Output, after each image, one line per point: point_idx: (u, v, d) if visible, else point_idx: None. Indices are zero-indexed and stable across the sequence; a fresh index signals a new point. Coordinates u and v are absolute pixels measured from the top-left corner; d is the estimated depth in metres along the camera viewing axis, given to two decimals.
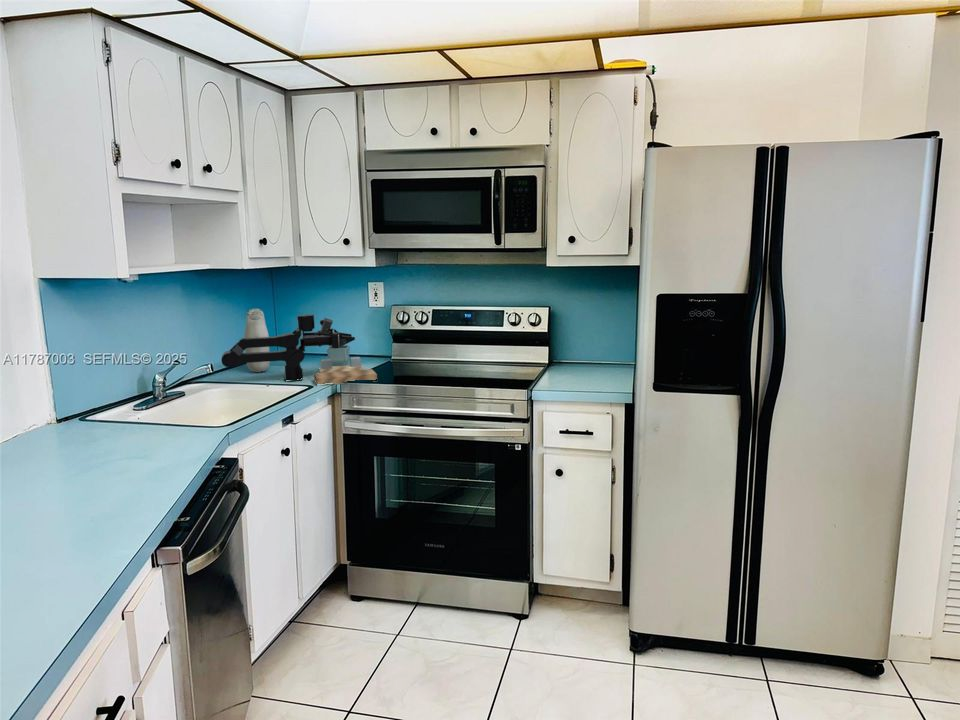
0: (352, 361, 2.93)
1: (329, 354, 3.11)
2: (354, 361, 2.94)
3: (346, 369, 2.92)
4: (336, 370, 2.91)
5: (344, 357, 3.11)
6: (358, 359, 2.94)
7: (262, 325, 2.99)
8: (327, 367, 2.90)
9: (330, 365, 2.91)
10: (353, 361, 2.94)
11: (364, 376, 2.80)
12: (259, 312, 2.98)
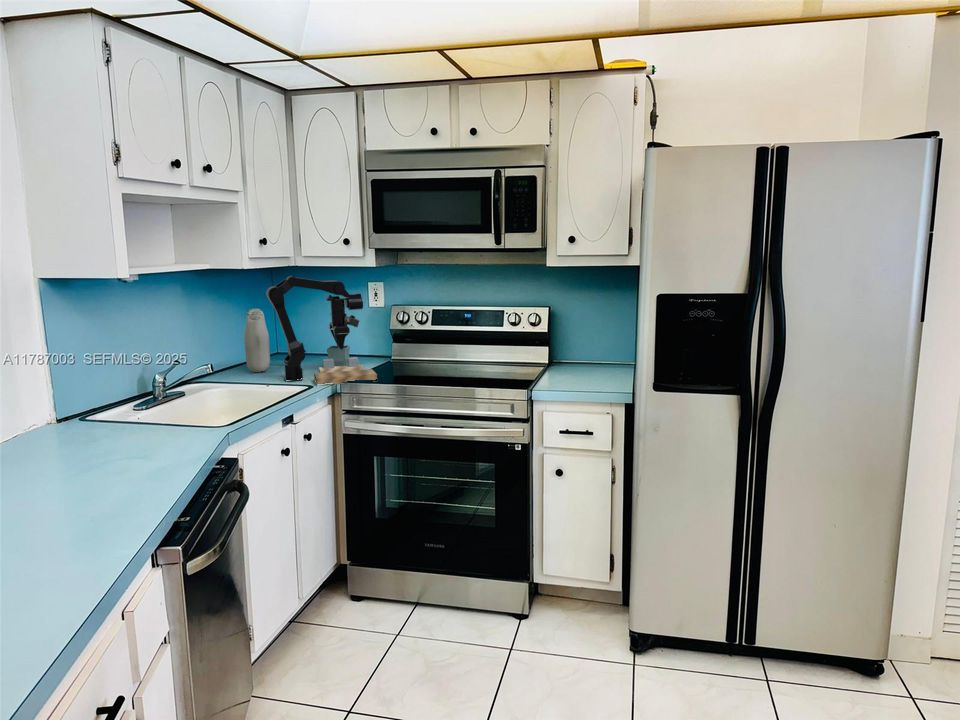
0: (349, 361, 2.93)
1: (329, 354, 3.11)
2: (351, 361, 2.93)
3: (346, 369, 2.92)
4: (336, 370, 2.91)
5: (344, 357, 3.11)
6: (355, 359, 2.94)
7: (262, 325, 2.99)
8: (329, 367, 2.91)
9: (332, 365, 2.91)
10: (350, 361, 2.93)
11: (364, 376, 2.80)
12: (259, 312, 2.98)
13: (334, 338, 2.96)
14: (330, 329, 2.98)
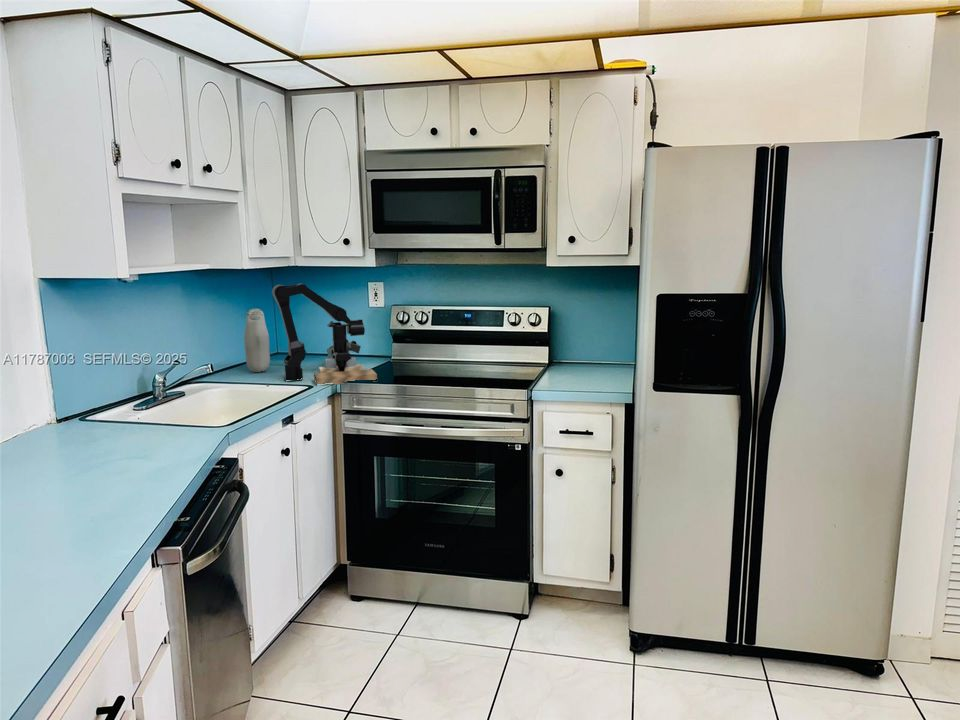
0: (347, 361, 2.93)
1: (329, 354, 3.11)
2: (349, 361, 2.93)
3: (346, 369, 2.92)
4: (336, 370, 2.91)
5: None
6: (353, 359, 2.93)
7: (262, 325, 2.99)
8: (331, 366, 2.91)
9: (334, 364, 2.91)
10: (348, 361, 2.93)
11: (364, 376, 2.80)
12: (259, 312, 2.98)
13: (336, 364, 2.96)
14: (332, 355, 2.98)
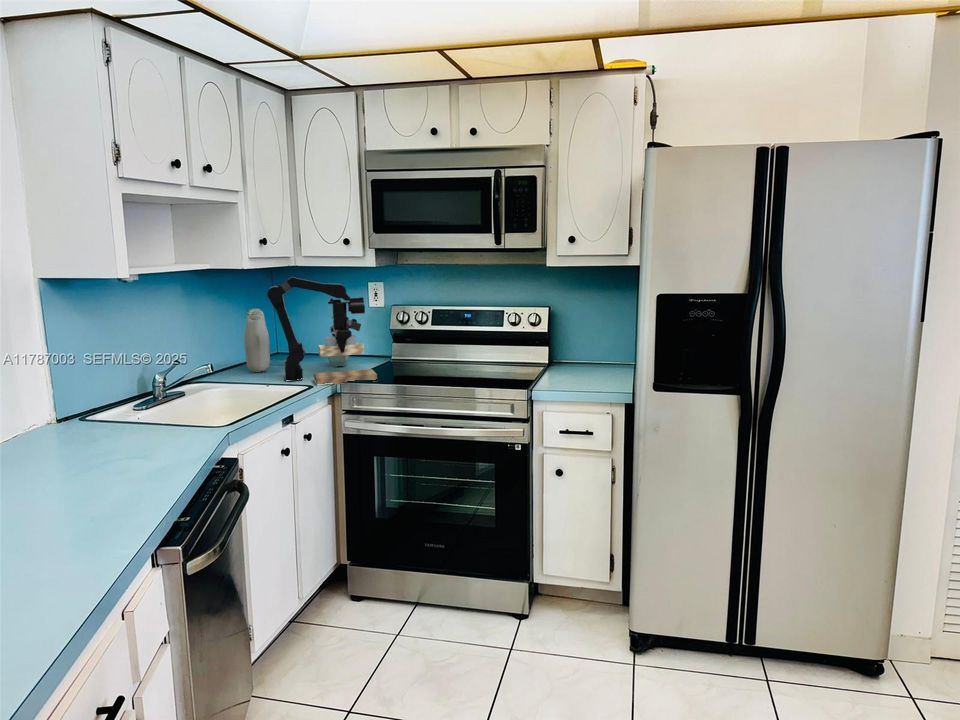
0: (347, 339, 2.88)
1: None
2: (349, 339, 2.88)
3: (346, 347, 2.87)
4: (336, 348, 2.86)
5: (344, 357, 3.11)
6: (353, 337, 2.88)
7: (262, 325, 2.99)
8: (332, 344, 2.86)
9: (335, 342, 2.86)
10: (348, 339, 2.88)
11: (364, 376, 2.80)
12: (259, 312, 2.98)
13: None
14: (332, 333, 2.93)
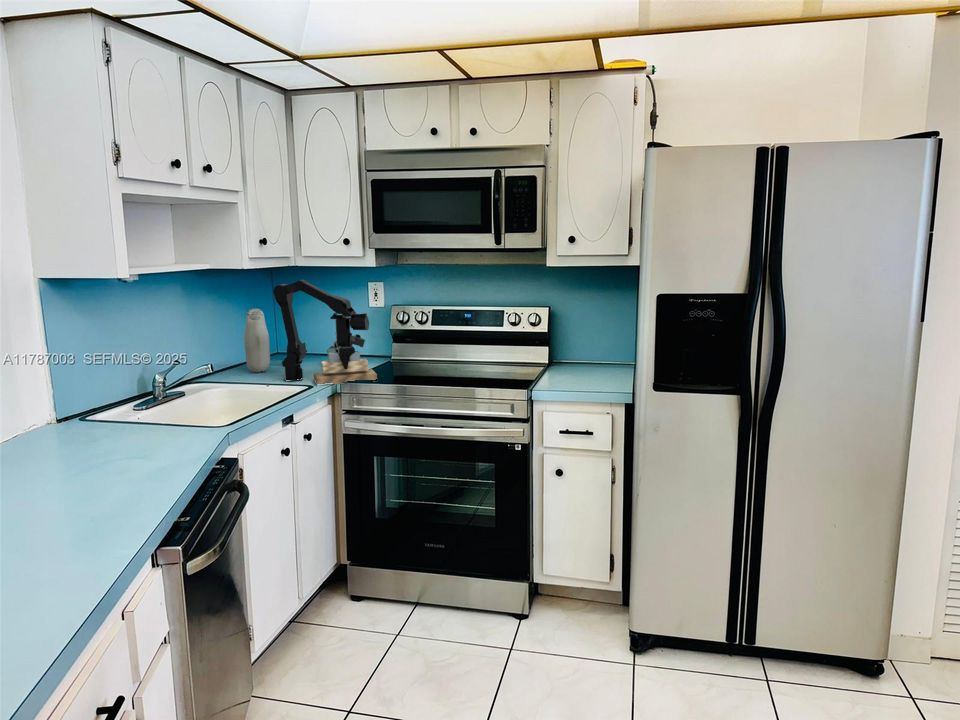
0: (351, 355, 2.81)
1: None
2: (353, 355, 2.81)
3: (350, 363, 2.80)
4: (339, 364, 2.79)
5: None
6: (357, 353, 2.82)
7: (262, 325, 2.99)
8: (335, 361, 2.79)
9: (338, 359, 2.79)
10: (352, 355, 2.81)
11: (364, 376, 2.80)
12: (259, 312, 2.98)
13: None
14: (335, 349, 2.86)
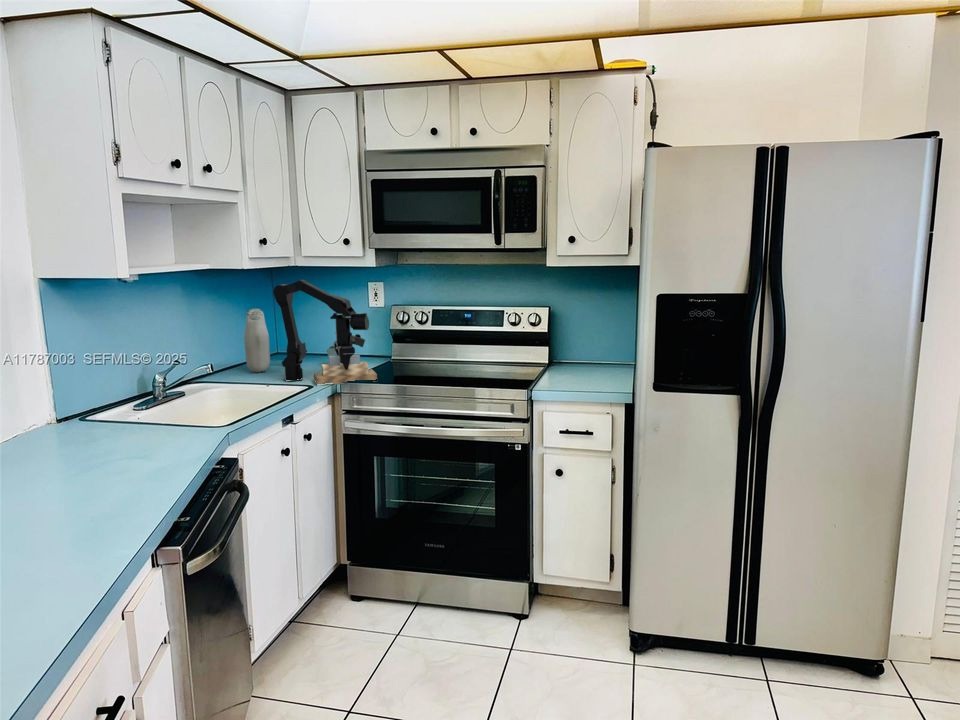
0: (351, 358, 2.81)
1: (329, 354, 3.11)
2: (353, 358, 2.81)
3: (350, 366, 2.81)
4: (339, 367, 2.79)
5: None
6: (357, 356, 2.82)
7: (262, 325, 2.99)
8: (335, 364, 2.79)
9: (338, 362, 2.80)
10: (352, 358, 2.81)
11: (364, 376, 2.80)
12: (259, 312, 2.98)
13: None
14: None
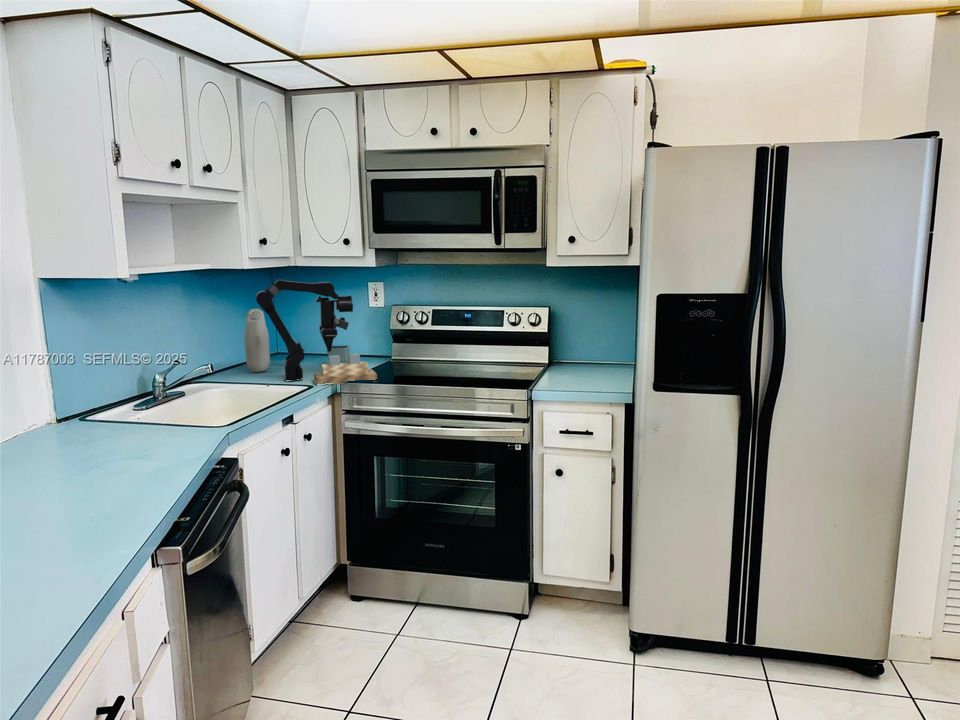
0: (351, 358, 2.81)
1: (329, 354, 3.11)
2: (353, 358, 2.81)
3: (350, 366, 2.81)
4: (339, 367, 2.79)
5: (344, 357, 3.11)
6: (357, 356, 2.82)
7: (262, 325, 2.99)
8: (335, 364, 2.79)
9: (338, 362, 2.80)
10: (352, 358, 2.81)
11: (364, 376, 2.80)
12: (259, 312, 2.98)
13: None
14: (320, 331, 2.94)
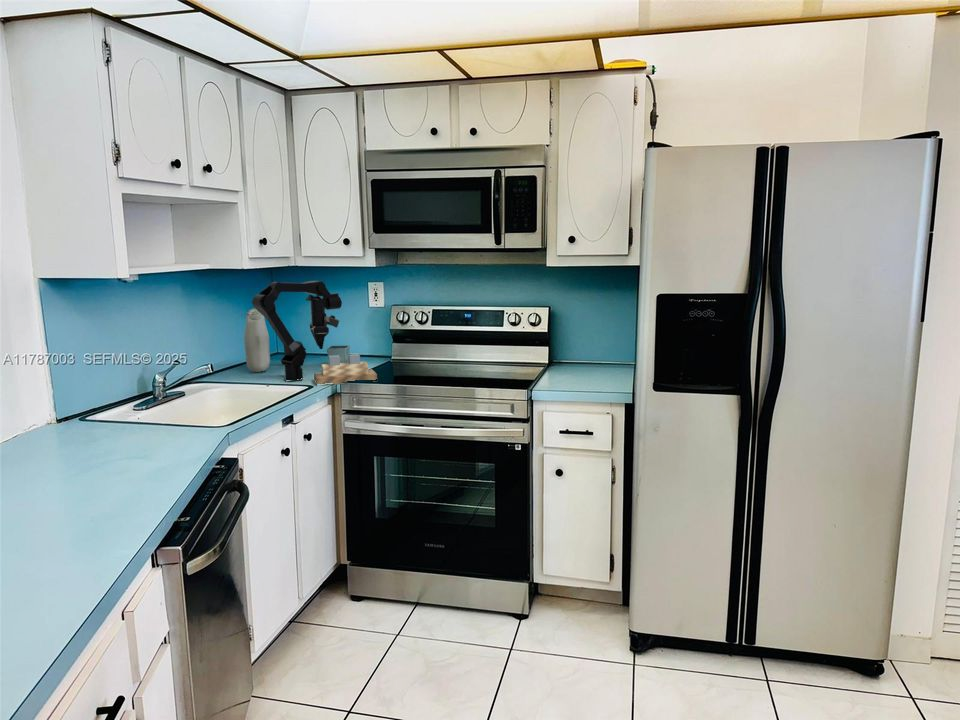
0: (351, 358, 2.81)
1: (329, 354, 3.11)
2: (353, 358, 2.81)
3: (350, 366, 2.81)
4: (339, 367, 2.79)
5: (344, 357, 3.11)
6: (357, 356, 2.82)
7: (262, 325, 2.99)
8: (335, 364, 2.79)
9: (338, 362, 2.80)
10: (352, 358, 2.81)
11: (364, 376, 2.80)
12: (259, 312, 2.98)
13: (314, 338, 2.97)
14: None
